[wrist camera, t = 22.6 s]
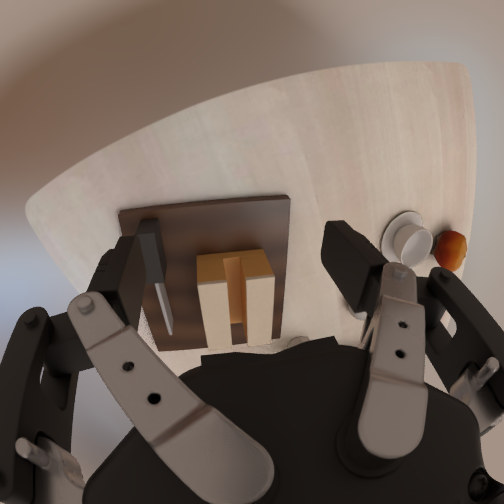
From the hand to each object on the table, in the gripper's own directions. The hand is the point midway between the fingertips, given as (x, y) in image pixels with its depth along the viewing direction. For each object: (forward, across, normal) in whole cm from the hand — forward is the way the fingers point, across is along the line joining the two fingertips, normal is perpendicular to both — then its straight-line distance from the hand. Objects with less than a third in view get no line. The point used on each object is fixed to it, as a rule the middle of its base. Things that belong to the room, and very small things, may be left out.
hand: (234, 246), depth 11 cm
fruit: (+23, -45, +17) cm, 53 cm away
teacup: (+23, -32, +14) cm, 42 cm away
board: (+23, +1, +20) cm, 30 cm away
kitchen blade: (+21, +8, +16) cm, 28 cm away
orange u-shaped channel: (+21, -2, +20) cm, 29 cm away
